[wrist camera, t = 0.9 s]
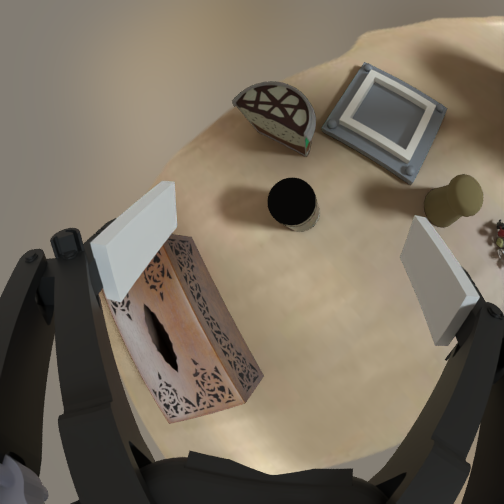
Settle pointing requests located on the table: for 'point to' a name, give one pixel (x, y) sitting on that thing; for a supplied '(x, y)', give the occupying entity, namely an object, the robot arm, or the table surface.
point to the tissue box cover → (184, 336)
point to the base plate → (386, 121)
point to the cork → (453, 201)
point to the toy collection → (501, 233)
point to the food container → (279, 114)
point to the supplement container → (294, 204)
